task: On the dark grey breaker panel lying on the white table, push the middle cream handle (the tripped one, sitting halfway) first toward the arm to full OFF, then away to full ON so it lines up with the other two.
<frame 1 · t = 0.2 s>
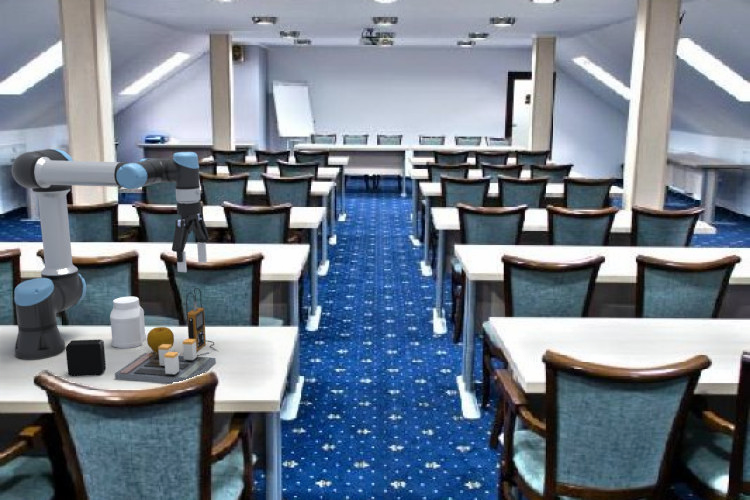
hand: (192, 266, 246), 28 cm above the table, fingers open, 13 cm apart
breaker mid: (165, 354, 231), point 5 cm above the table, slide at 0.0 cm
breaker far: (189, 349, 235), point 5 cm above the table, slide at 5.0 cm
multimeter: (208, 349, 251), on the table
apple: (161, 354, 247), on the table
breaker near: (171, 362, 224), point 5 cm above the table, slide at 5.0 cm
electronic device: (87, 374, 231), on the table
panel: (166, 371, 232), on the table
jar: (129, 343, 258), on the table
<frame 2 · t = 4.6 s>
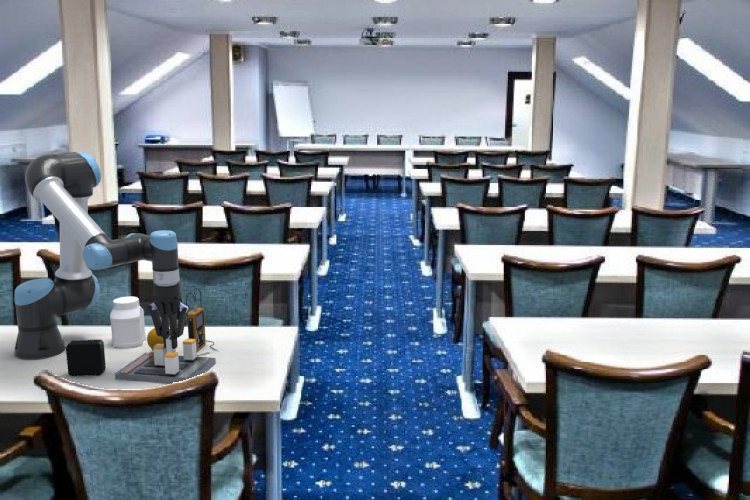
hand: (171, 358, 231), 4 cm above the table, fingers closed
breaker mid: (160, 354, 231), point 5 cm above the table, slide at -1.6 cm, touching gripper
everything else where it was.
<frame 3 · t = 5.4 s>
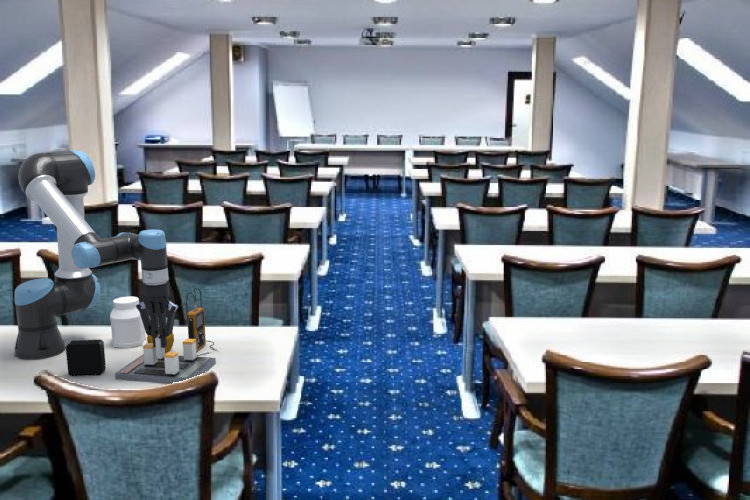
hand: (160, 357, 231), 4 cm above the table, fingers closed
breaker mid: (150, 353, 232), point 5 cm above the table, slide at -5.1 cm, touching gripper
everything else where it was.
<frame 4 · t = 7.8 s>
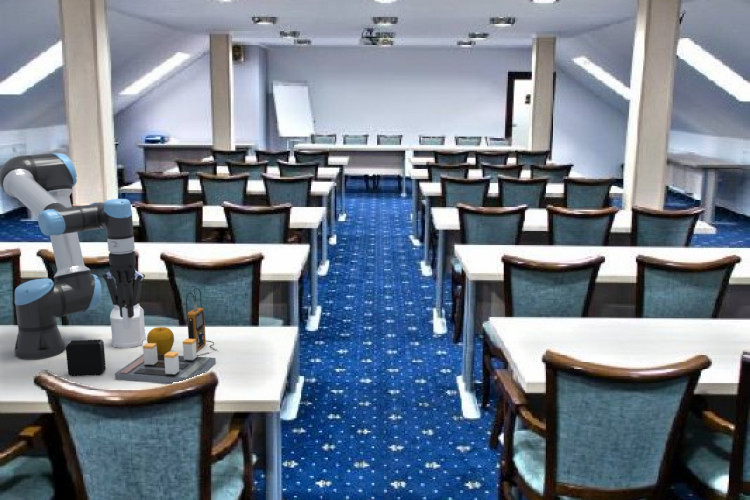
hand: (128, 327, 231), 13 cm above the table, fingers closed
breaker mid: (150, 353, 232), point 5 cm above the table, slide at -5.1 cm
everything else where it was.
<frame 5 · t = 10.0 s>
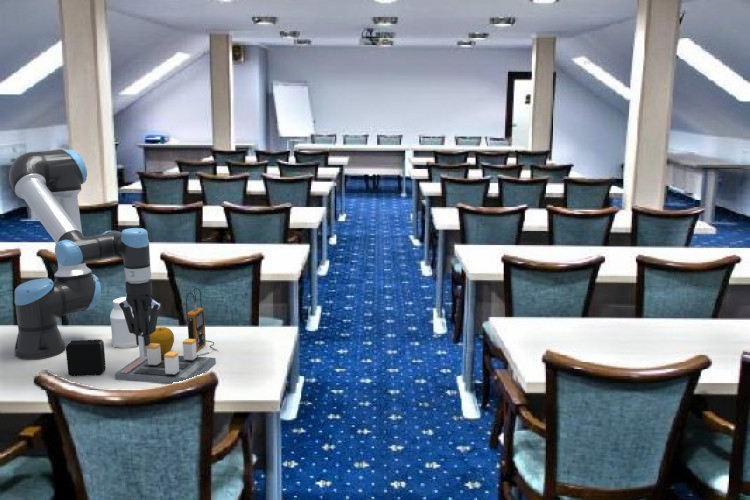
hand: (144, 355, 232), 5 cm above the table, fingers closed
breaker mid: (154, 354, 232), point 5 cm above the table, slide at -3.9 cm, touching gripper
everything else where it was.
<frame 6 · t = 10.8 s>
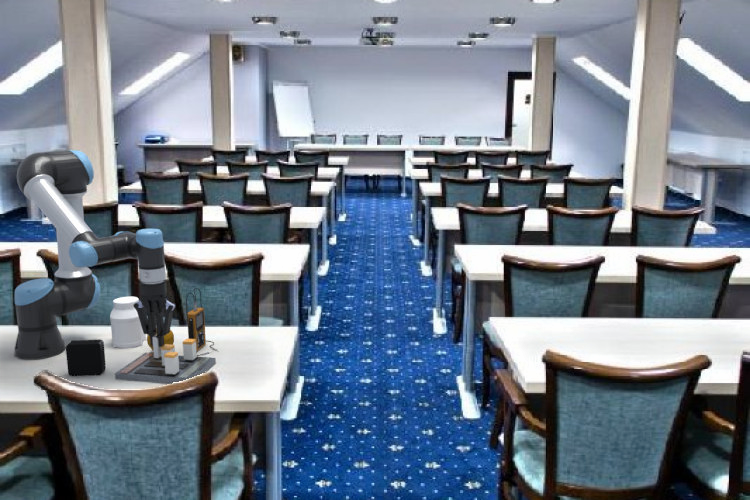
hand: (158, 356, 231), 5 cm above the table, fingers closed
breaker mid: (168, 355, 231), point 5 cm above the table, slide at 0.8 cm, touching gripper
everything else where it was.
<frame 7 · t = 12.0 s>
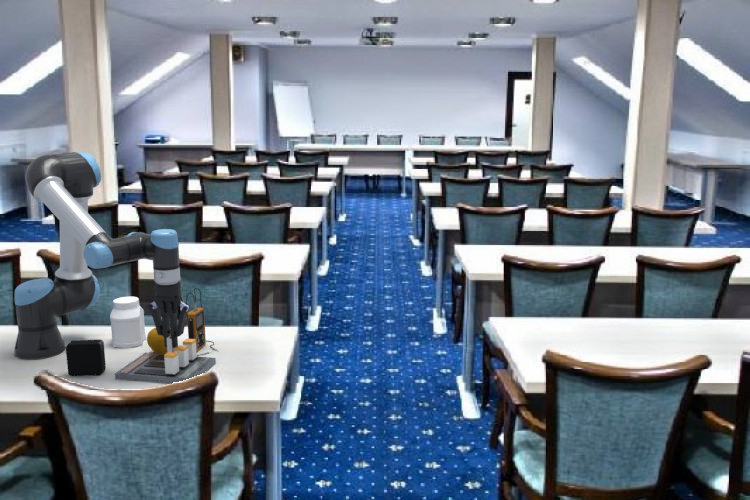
hand: (172, 357, 230), 5 cm above the table, fingers closed
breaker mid: (181, 356, 230), point 5 cm above the table, slide at 5.2 cm, touching gripper
everything else where it was.
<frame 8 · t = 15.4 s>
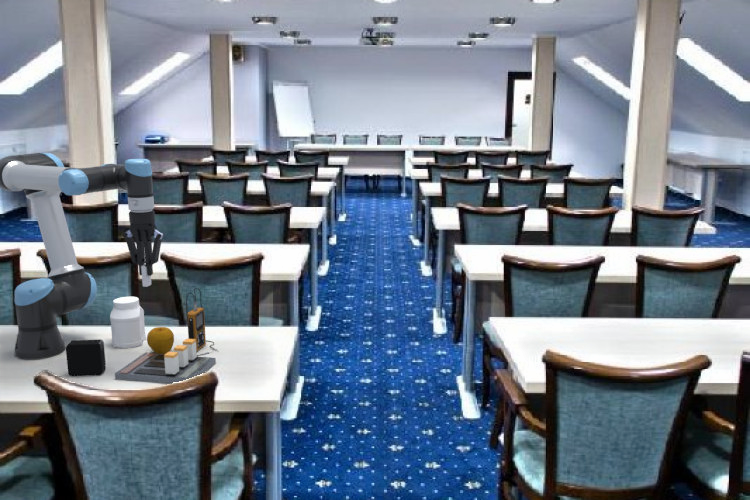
hand: (147, 285, 236), 24 cm above the table, fingers closed
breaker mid: (181, 356, 230), point 5 cm above the table, slide at 5.1 cm
everything else where it was.
at the end: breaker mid slide at 5.1 cm; breaker near slide at 5.0 cm; breaker far slide at 5.0 cm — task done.
